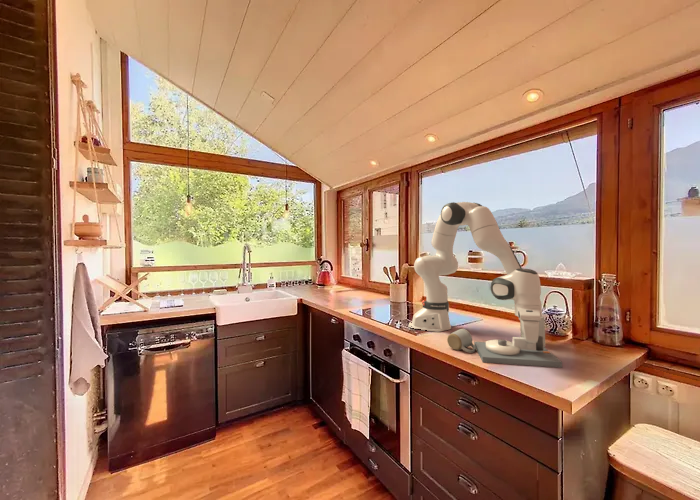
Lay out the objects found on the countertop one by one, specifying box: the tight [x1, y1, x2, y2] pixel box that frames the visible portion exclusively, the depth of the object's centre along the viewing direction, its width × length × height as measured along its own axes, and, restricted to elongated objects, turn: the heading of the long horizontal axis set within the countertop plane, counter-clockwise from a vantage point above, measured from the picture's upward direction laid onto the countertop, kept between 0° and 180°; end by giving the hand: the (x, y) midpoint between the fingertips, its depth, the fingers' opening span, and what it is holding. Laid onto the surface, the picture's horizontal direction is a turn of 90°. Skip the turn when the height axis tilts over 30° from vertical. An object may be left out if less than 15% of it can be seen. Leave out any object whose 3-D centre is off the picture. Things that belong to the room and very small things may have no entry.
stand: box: [473, 341, 563, 368], centre depth 114 cm, size 26×18×2 cm
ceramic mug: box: [446, 328, 476, 354], centre depth 122 cm, size 11×8×8 cm
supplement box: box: [519, 316, 546, 348], centre depth 126 cm, size 7×7×13 cm
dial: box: [485, 336, 543, 355], centre depth 113 cm, size 20×12×6 cm, turn 74°
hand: (529, 347), depth 109 cm, fingers closed
